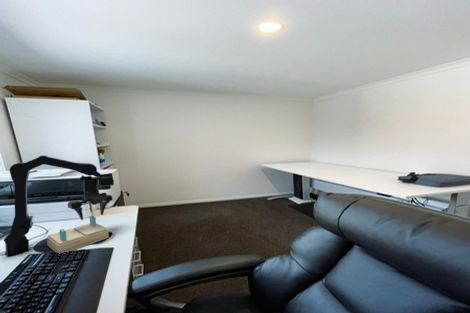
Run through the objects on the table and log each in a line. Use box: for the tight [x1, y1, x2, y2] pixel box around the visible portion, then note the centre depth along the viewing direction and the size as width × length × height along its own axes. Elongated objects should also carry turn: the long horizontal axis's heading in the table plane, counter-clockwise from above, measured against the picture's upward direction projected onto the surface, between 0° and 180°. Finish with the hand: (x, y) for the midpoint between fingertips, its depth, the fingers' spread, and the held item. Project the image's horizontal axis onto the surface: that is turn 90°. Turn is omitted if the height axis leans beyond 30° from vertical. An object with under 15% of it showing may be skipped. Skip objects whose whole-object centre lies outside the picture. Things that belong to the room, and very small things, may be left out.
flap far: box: [73, 215, 108, 236], centre depth 107 cm, size 9×15×5 cm, turn 56°
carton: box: [46, 228, 110, 255], centre depth 103 cm, size 20×16×4 cm
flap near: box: [47, 228, 84, 245], centre depth 98 cm, size 9×15×5 cm, turn 56°
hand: (92, 217), depth 110 cm, fingers open, 9 cm apart
